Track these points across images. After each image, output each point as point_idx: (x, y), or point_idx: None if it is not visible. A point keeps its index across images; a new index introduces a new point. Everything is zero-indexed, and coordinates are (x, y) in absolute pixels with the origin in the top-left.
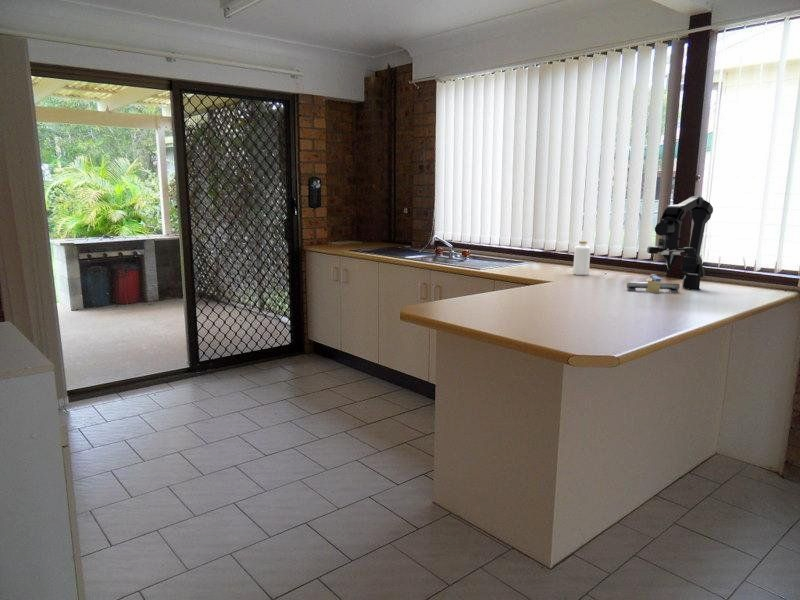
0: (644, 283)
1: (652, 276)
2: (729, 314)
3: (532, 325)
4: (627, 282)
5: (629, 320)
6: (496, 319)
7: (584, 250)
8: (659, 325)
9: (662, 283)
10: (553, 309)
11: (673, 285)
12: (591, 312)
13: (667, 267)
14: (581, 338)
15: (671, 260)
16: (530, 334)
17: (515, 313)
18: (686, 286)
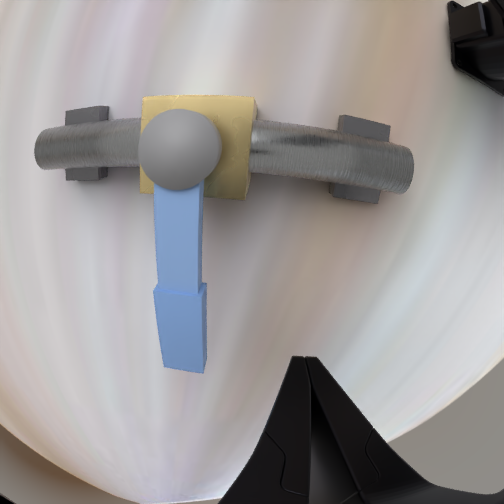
0: (130, 160)
1: (155, 208)
2: None
3: (50, 453)
4: (37, 156)
5: (134, 474)
6: (15, 428)
7: None
8: (176, 489)
9: (280, 159)
10: (23, 412)
11: (362, 185)
12: (71, 439)
13: (284, 378)
14: (105, 485)
15: (316, 494)
16: (66, 467)
17: (9, 415)
18: (466, 51)
